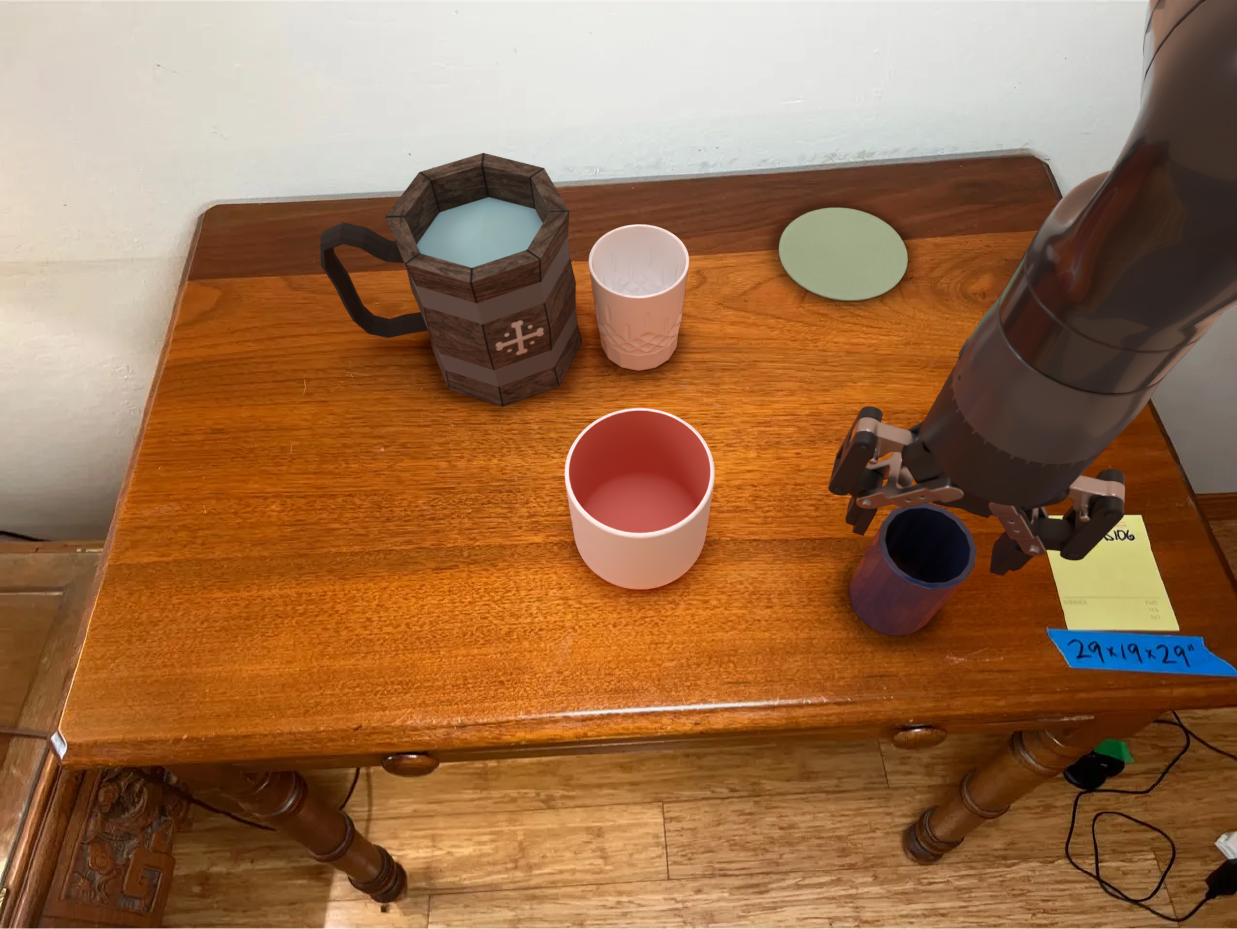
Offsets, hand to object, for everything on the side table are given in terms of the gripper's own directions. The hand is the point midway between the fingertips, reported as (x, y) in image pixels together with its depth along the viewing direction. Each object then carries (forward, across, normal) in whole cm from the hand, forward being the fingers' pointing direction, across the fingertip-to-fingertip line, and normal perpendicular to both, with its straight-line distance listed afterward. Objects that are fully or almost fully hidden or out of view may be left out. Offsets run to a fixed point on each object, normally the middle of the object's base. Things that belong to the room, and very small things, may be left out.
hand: (927, 541), depth 51 cm
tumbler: (+10, 0, 0) cm, 10 cm away
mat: (+10, -10, +33) cm, 36 cm away
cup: (+10, -19, -1) cm, 21 cm away
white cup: (+10, -25, +17) cm, 32 cm away
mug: (+10, -39, +12) cm, 42 cm away
